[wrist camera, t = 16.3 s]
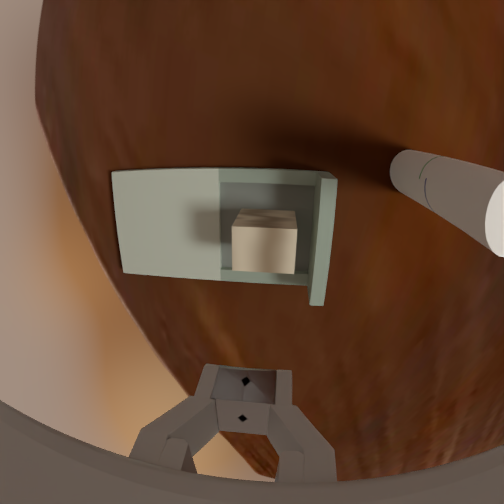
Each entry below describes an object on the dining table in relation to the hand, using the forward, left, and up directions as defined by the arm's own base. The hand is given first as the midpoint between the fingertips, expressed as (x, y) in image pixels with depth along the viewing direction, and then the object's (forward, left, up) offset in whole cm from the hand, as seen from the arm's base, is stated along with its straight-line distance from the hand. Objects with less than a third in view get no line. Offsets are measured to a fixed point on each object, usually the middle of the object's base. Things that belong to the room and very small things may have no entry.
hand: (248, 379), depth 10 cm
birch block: (+2, -6, -37) cm, 37 cm away
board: (-5, -10, -37) cm, 39 cm away
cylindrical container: (+16, +14, -37) cm, 43 cm away
